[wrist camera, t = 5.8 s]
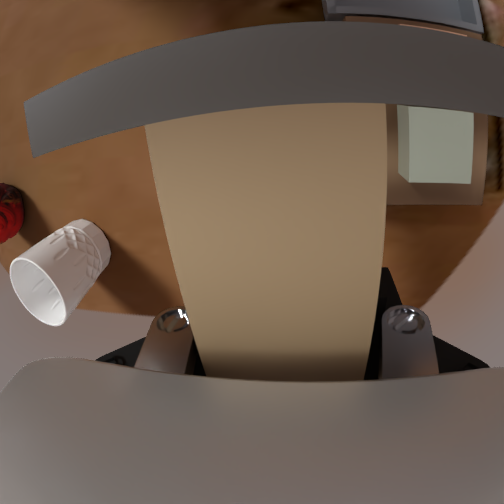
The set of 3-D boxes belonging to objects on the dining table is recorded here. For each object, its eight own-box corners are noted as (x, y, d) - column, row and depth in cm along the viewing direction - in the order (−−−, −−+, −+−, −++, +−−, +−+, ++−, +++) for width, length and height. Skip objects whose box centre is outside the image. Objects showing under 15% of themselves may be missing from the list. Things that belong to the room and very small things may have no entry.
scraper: (153, 89, 9) (23, 102, 4) (416, 70, 8) (526, 54, 2) (213, 367, 15) (178, 466, 10) (388, 368, 14) (403, 474, 8)
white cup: (126, 243, 32) (74, 298, 23) (102, 284, 35) (58, 338, 27) (74, 200, 30) (13, 241, 21) (57, 246, 34) (6, 290, 25)
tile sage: (396, 104, 18) (408, 106, 16) (457, 109, 17) (473, 113, 15) (398, 172, 20) (408, 182, 18) (456, 174, 19) (470, 183, 17)
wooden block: (338, 27, 19) (345, 15, 15) (459, 39, 17) (481, 34, 13) (351, 189, 25) (359, 205, 22) (462, 189, 23) (482, 205, 20)
